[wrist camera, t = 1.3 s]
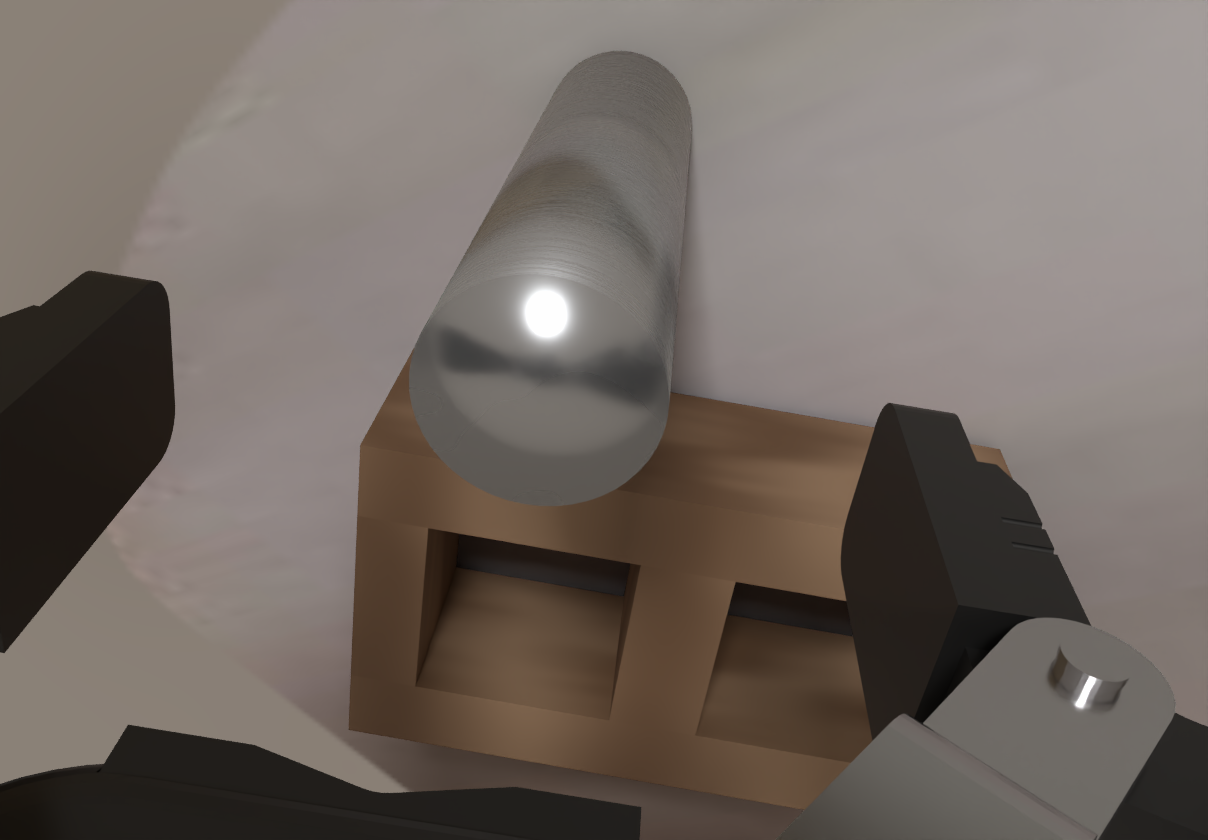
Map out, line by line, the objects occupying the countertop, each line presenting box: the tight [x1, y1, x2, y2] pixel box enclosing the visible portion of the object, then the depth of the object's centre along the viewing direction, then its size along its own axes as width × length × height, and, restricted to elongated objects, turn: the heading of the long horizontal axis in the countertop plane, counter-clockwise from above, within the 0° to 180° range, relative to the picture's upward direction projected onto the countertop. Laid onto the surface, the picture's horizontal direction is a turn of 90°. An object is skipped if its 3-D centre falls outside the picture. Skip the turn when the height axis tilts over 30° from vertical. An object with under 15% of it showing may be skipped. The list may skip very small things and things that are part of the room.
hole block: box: [349, 349, 1012, 810], centre depth 26 cm, size 14×8×4 cm, turn 82°
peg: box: [409, 51, 692, 506], centre depth 18 cm, size 3×3×12 cm
